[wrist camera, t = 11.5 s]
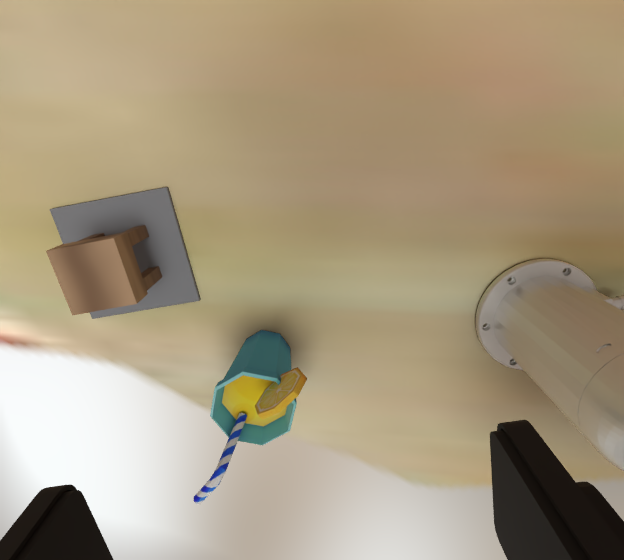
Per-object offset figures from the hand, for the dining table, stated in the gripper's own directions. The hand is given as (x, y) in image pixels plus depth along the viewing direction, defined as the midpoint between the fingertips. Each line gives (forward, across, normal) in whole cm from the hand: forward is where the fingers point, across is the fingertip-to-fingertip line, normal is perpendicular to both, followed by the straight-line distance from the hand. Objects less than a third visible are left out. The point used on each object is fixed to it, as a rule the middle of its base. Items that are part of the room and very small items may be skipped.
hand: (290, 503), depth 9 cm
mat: (+33, +19, 0) cm, 38 cm away
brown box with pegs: (+33, +19, 0) cm, 38 cm away
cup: (+34, +8, +14) cm, 37 cm away
